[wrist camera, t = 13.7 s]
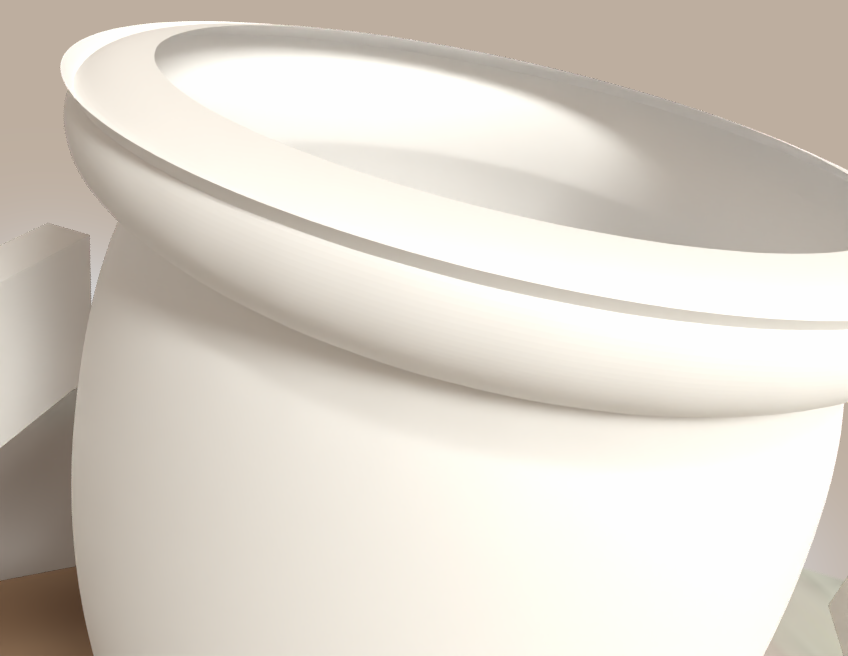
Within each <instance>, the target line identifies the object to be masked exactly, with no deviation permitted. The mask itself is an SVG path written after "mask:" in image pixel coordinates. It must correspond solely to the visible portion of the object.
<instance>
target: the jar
mask: <svg viewBox="0 0 848 656" xmlns="http://www.w3.org/2000/svg"><path fill="white" fill-rule="evenodd" d="M60 67H61V68H60V69H61V75H62V78H63V81H64V83H65V85H66V86H67V88H68V91H67V95H66V99H65V105H64V127H65V134H66V138H67V143H68V147H69V150H70V153H71V156H72V158H73V161H74V164H75V166H76V168H77V170H78V172H79V174H80V175H81V177H82V179H83V180H84V182H85V183H86V185H87V186H88V188H89V189H90V190H91V192H92V193H93V194H94V195H95V196H96V198H97V199H98V200H99V201H100V202H101V204H102V205H103V206H104V207H105V208H106V209H107V210H108V212H109V213H110V214H111V215H112V216H113V217H114V218H115V219H116V220H117V221H118V222H117V225H116V228H115V230H114V233H113V235H112V238H111V241H110V243H109V246H108V249H107V252H106V255H105V258H104V261H103V264H102V267H101V270H100V274H99V277H98V281H97V285H96V289H95V293H94V297H93V302H92V305H91V310H90V314H89V319H88V324H87V330H86V335H85V341H84V347H83V353H82V359H81V366H80V373H79V381H78V389H77V397H76V407H75V417H74V429H73V445H72V471H71V499H72V525H73V539H74V550H75V560H76V568H77V576H78V583H79V589H80V595H81V601H82V607H83V612H84V617H85V622H86V626H87V631H88V635H89V639H90V643H91V647H92V651H93V655H94V656H763V655H764V653H765V651H766V649H767V647H768V645H769V643H770V641H771V639H772V637H773V635H774V633H775V631H776V629H777V627H778V624H779V622H780V620H781V618H782V616H783V614H784V611H785V609H786V607H787V605H788V602H789V600H790V598H791V595H792V593H793V590H794V588H795V586H796V583H797V581H798V578H799V576H800V573H801V571H802V568H803V565H804V562H805V560H806V557H807V555H808V552H809V549H810V547H811V544H812V541H813V538H814V535H815V532H816V529H817V526H818V523H819V520H820V517H821V514H822V511H823V507H824V504H825V501H826V497H827V493H828V490H829V486H830V483H831V479H832V474H833V470H834V466H835V461H836V456H837V451H838V446H839V440H840V433H841V426H842V418H843V408H844V403H847V402H848V170H846V169H844V168H842V167H840V166H838V165H836V164H834V163H831V162H830V161H827V160H825V159H823V158H821V157H818V156H817V155H814V154H812V153H810V152H808V151H805V150H803V149H801V148H798V147H796V146H794V145H791V144H789V143H787V142H784V141H782V140H779V139H777V138H774V137H772V136H769V135H767V134H764V133H762V132H759V131H756V130H754V129H751V128H749V127H746V126H743V125H741V124H738V123H735V122H732V121H730V120H726V119H724V118H721V117H718V116H715V115H712V114H709V113H707V112H704V111H701V110H698V109H695V108H691V107H688V106H685V105H682V104H679V103H676V102H673V101H670V100H666V99H663V98H660V97H657V96H654V95H650V94H647V93H644V92H640V91H636V90H633V89H629V88H626V87H623V86H619V85H616V84H612V83H608V82H605V81H601V80H597V79H594V78H590V77H586V76H582V75H578V74H574V73H570V72H566V71H562V70H558V69H554V68H550V67H545V66H541V65H537V64H533V63H529V62H524V61H520V60H515V59H511V58H506V57H501V56H496V55H492V54H487V53H481V52H477V51H471V50H467V49H462V48H456V47H451V46H445V45H440V44H434V43H428V42H422V41H416V40H410V39H404V38H397V37H390V36H383V35H376V34H369V33H361V32H353V31H345V30H336V29H326V28H315V27H304V26H290V25H275V24H261V23H243V22H242V23H241V22H212V21H211V22H210V21H204V22H203V21H200V22H199V21H198V22H197V21H196V22H195V21H192V22H164V23H151V24H141V25H134V26H128V27H122V28H116V29H112V30H108V31H104V32H100V33H97V34H94V35H92V36H89V37H87V38H85V39H82V40H80V41H79V42H77V43H76V44H74V45H73V46H71V47H70V48H69V49H68V50H67V51H66V53H65V54H64V56H63V58H62V60H61V66H60Z"/></svg>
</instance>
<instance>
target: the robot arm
mask: <svg viewBox="0 0 848 656" xmlns="http://www.w3.org/2000/svg"><path fill="white" fill-rule="evenodd" d="M90 273H91V272H90V235H88V234H84V233H81V232H78V231H74V230H71V229H68V228H64V227H60V226H57V225H54V224H50V223H46V224H44V225H42V226H40V227H38V228H36V229H34V230H31V231H29V232H27V233H25V234H23V235H21V236H19V237H17V238H14V239H12V240H10V241H8V242H6V243H4V244H2V245H0V448H1V447H2V446H3V445H4V444H6V443H7V442H8V441H9V440H11V439H12V438H13V437H14V436H16V435H17V434H18V433H19V432H21V431H22V430H23V429H25V428H26V427H27V426H28V425H30V424H31V423H32V422H33V421H35V420H36V419H37V418H38V417H40V416H41V415H42V414H43V413H45V412H46V411H47V410H48V409H50V408H51V407H52V406H53V405H55V404H56V403H57V402H58V401H60V400H61V399H62V398H63V397H65V396H66V395H67V394H69V393H70V392H71V391H72V390H74V389H75V388H76V387H77V386H78V381H79V373H80V366H81V359H82V353H83V347H84V341H85V335H86V330H87V324H88V319H89V314H90V310H91V274H90ZM828 607H829V610H830V613H831V617H832V620H833V623H834V626H835V630H836V633H837V636H838V639H839V643H840V646H841V649H842V653H843V656H848V576H847V578H846V579H845V581H844V582H843V584H842V585H841V587H840V588H839V590H838V591H837V593H836V595H835V596H834V598H833V599H832V601H831V602H830V604H829V605H828Z"/></svg>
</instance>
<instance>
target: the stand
mask: <svg viewBox="0 0 848 656" xmlns="http://www.w3.org/2000/svg"><path fill="white" fill-rule="evenodd" d="M0 656H94V655H93V651H92V647H91V643H90V639H89V635H88V631H87V626H86V622H85V617H84V612H83V607H82V601H81V595H80V589H79V583H78V576H77V568H76V566H75V567H70V568H65V569H60V570H54V571H49V572H44V573H39V574H33V575H28V576H23V577H18V578H13V579H7V580H2V581H0Z"/></svg>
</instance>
